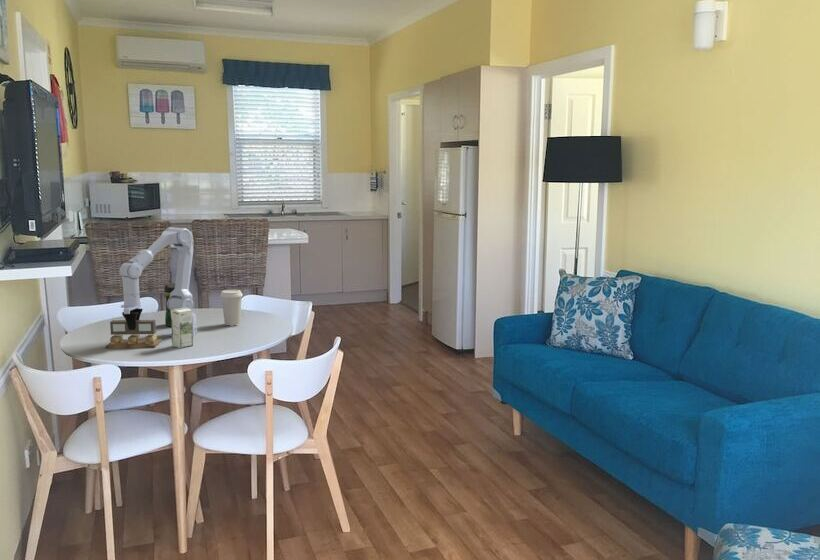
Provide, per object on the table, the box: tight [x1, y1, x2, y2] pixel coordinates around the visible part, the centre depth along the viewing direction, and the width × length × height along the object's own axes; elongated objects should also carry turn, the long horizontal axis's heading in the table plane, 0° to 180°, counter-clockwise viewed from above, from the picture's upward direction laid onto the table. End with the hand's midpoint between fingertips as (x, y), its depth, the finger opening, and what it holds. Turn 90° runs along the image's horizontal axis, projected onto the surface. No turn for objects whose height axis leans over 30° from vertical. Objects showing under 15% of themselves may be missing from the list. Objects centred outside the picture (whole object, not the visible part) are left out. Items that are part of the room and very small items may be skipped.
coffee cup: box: [219, 289, 244, 326], centre depth 301 cm, size 10×10×15 cm
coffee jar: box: [163, 282, 181, 327], centre depth 299 cm, size 10×8×19 cm
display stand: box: [105, 333, 162, 349], centre depth 265 cm, size 18×10×4 cm, turn 95°
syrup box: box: [170, 308, 194, 349], centre depth 263 cm, size 6×6×14 cm
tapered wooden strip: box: [109, 319, 157, 336], centre depth 264 cm, size 16×3×5 cm, turn 95°
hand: (133, 328), depth 265 cm, fingers open, 3 cm apart
